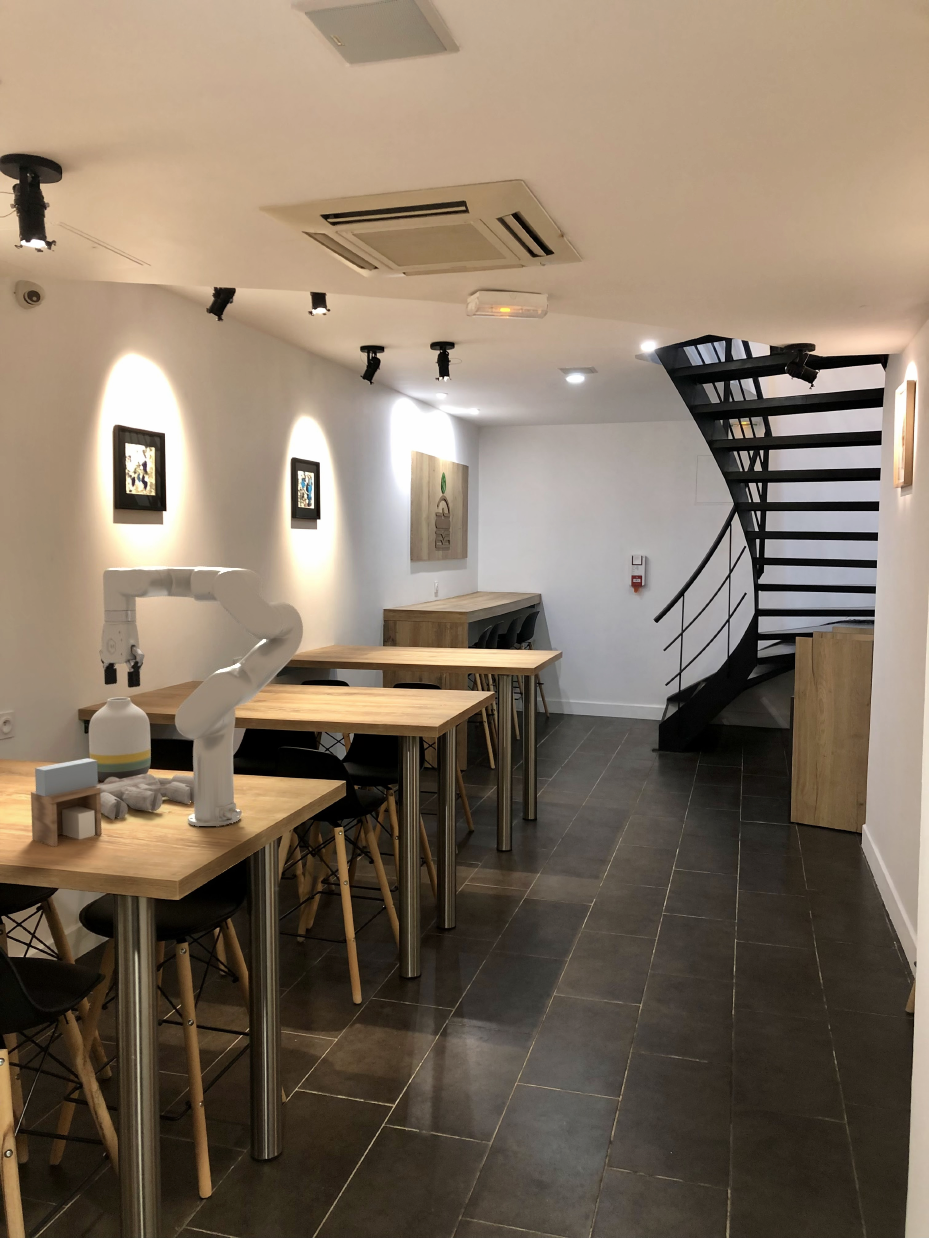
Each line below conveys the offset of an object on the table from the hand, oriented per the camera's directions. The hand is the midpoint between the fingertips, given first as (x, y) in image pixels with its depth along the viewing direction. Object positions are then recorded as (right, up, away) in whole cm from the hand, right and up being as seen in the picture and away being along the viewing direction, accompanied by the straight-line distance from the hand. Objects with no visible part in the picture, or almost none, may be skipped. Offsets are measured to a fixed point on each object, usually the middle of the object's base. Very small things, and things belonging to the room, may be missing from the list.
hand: (122, 685), depth 233 cm
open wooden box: (-7, -34, -16) cm, 38 cm away
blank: (-7, -23, -16) cm, 29 cm away
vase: (-16, -31, +41) cm, 54 cm away
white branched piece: (-3, -33, +17) cm, 37 cm away
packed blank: (-5, -34, -14) cm, 37 cm away
